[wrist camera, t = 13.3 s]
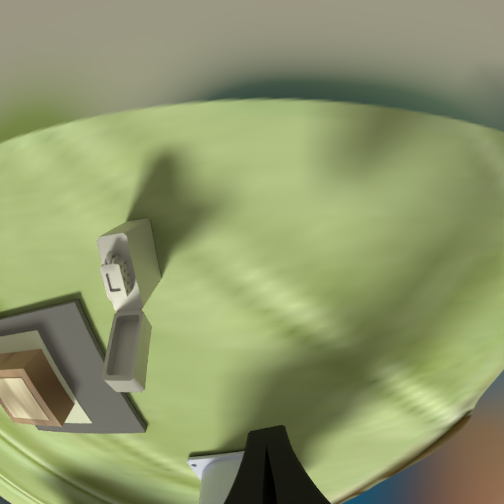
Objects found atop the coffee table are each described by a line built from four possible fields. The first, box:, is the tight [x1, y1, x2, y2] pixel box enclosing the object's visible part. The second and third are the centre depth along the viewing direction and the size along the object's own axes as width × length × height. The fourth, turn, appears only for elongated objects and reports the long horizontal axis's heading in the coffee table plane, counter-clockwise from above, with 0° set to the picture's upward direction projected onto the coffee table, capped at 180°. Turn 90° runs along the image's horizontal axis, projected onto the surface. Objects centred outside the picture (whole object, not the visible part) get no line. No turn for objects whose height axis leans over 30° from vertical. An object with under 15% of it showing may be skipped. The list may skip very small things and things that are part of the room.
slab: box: [0, 349, 74, 427], centre depth 19 cm, size 6×3×7 cm
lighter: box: [97, 218, 162, 392], centre depth 16 cm, size 7×2×8 cm, turn 7°
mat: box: [0, 299, 147, 433], centre depth 21 cm, size 13×14×1 cm
